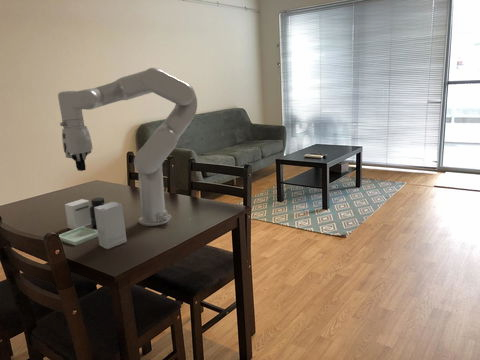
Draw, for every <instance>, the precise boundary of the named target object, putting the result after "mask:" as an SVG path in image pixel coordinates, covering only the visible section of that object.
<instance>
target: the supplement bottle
mask: <svg viewBox="0 0 480 360" xmlns="http://www.w3.org/2000/svg"><path fill="white" fill-rule="evenodd" d="M104 204H106V201H105V198H104V197H95V198H92V199H91V201H90V217H91V225H90V226H91V229H95V230H97V225H96V218H95V211H94V207H97V206H101V205H104Z"/></svg>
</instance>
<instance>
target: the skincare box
mask: <svg viewBox="0 0 480 360" xmlns="http://www.w3.org/2000/svg"><path fill="white" fill-rule="evenodd" d="M123 208H124V207H123V204H122V203H119V202H116V201H110V202H107V203H104V205H101V206H97V207H94V211H95V218H96V225H97V232H98V237H97V238H98V243H99V244H98V245H99V246H100V247H102V248H104V249H106V250H110V249H112V248H115V247H117V246H119V245H122V244H125V243H127V242H128V241H127V232H126V225H125V224H126V223H125V217H124V215H125V214H124V209H123Z"/></svg>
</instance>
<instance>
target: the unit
mask: <svg viewBox="0 0 480 360" xmlns="http://www.w3.org/2000/svg"><path fill="white" fill-rule="evenodd" d="M90 207H91V201H90V200H88V199H83V198H81V199H78V200H74V201H71V202H68V203H64V210H65V215H66V216H65V217H66V222H67V228H68V229H70V230H74V229H76V228H79V227H82V226H84V227H88V226H92V225H91V217H90Z"/></svg>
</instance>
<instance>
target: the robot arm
mask: <svg viewBox="0 0 480 360" xmlns="http://www.w3.org/2000/svg"><path fill="white" fill-rule="evenodd" d="M152 93H153V94H155V95H157V96H159V97H161V98H163V99H165V100H167V101H169V102H172V103H174V104H175V105H174V107H173V109H172V111H170V113H169V115H168V116H166V118H165V120H164V121H162V123H161V125H160V126H159V127H157V128H156V129H155V130H154V132H152V134H151V136H150V137H149V138H148V139H147V140H146V142H145V143H144V144H143V146H141V147H140V149H138V151H137V152H136V154H135V156H134V158H133V166H134V168H135V169H136V171H137V173H138V183H139V194H140V195H139V197H140V206H141V217H139V218H138V223H139V224H140V225H142V226H146V227H154V226H160V225H164V224H166V223H168V222H170V220H171V218H172V215H171V214H168V210H167V209H166V203H165V201H166V200H165V191H164V190H165V189H164V175H163V163H164V162H165V160H166V159H167V158H168V157H169V155H170V154H171V153H172V152H173V150H174V149H175V148H176V146H177V144H178V141H179V139H180V138H181V137H182V135H183V134H184V133H185V131H186V130H187V128H189V126H190V124H191V123H192V121H193V120H194V118H195V116H196V114H197V111H198V98H197V94H196V92H195V90H194V88H193V86H192V85H191V84H190V83H188V82H186V81H183V80H181V79H179V78H176V77H175V76H172V75H170V74H168V73H167V72H165V71H163V70H162V69H161V68H159V67H150V68H147V69H145V70H143V71H139V72H135V73H133V74H129V75H126V76H122V77H119V78H118V79H116V80H115V81H113V82H110V83H107V84H103V85H100V86H97V87H92V88H87V89H81V90H67V91H65V90H64V91H60V92H58V93H57V97H58V104H59V109H60V115H61V122H60V123H59V126H60V127H63V128H62V129H61V135H62V136H61V139H62V147H63V152H64V154H65V158H67V159H72V160H73V161H74V162H75V166H76V170H77V171H79V172H83V171H86V168H87V167H86V162H85V160H86V159H87V156H88V155H89V154H91V153H92V150H93V143H92V139H91V135H90V131H89V129H88V127H87V125H85V120H84V116H83V115H84V114H83V110H88V111H89V110H94V109H97V108H100V107H103V106H107V105H110V104H114V103H117V102H121V101H128V100H133V99H135V98H138V97H141V96H145V95H148V94H149V95H150V94H152Z"/></svg>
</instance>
